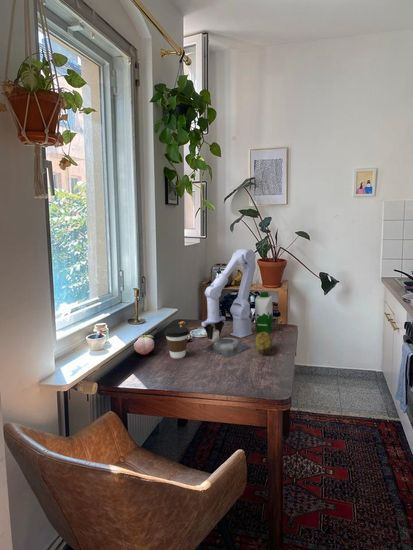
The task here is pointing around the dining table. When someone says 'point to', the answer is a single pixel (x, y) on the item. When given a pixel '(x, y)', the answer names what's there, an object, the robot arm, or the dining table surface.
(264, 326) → the milk carton
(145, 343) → the decorative fruit
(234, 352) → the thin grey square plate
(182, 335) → the coffee cup
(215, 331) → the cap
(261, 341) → the yellow oval piece
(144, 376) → the dining table surface
